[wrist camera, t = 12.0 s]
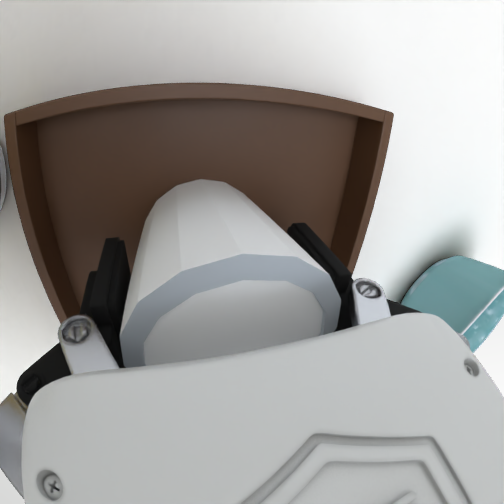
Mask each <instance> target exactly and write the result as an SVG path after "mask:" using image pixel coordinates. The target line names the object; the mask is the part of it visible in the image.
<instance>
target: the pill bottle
mask: <svg viewBox="0 0 504 504" xmlns="http://www.w3.org/2000/svg"><path fill="white" fill-rule="evenodd" d="M5 192H6V167H5V161H4V156H3V152H2V149H1V146H0V211H1V209H2V206H3V202H4V198H5Z"/></svg>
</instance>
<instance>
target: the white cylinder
mask: <svg viewBox="0 0 504 504" xmlns="http://www.w3.org/2000/svg"><path fill="white" fill-rule="evenodd" d="M340 306H341V298H340V296H339V294H338V292H337V290H336V288H335V286H334V283H333V281H332V279H331V277H330V275H329V274H328V273H327V272H326V271H325V270H324V269H323V268H322V267H321V266H320V265H319V264H318V263H317V262H316V261H315V260H314V259H313V258H312V257H311V256H310V255H309V254H308V253H307V252H306V251H305V250H303V249H302V248H301V247H300V246H299V245H298V244H297V243H296V242H295V241H294V240H293V239H292V238H291V237H290V236H289V235H288V234H287V233H286V232H285V231H284V230H283V229H281V228H280V227H279V226H278V225H277V224H276V223H275V222H274V221H273V220H272V219H271V218H270V217H269V216H268V215H266V214H265V213H264V212H263V211H262V210H261V209H260V208H259V207H258V206H257V205H256V204H255V203H253V202H252V201H251V200H250V199H249V198H248V197H247V196H246V195H245V194H244V193H242V192H240V191H239V190H237V189H235V188H234V187H232V186H230V185H229V184H227V183H225V182H221V181H213V180H205V179H199V180H195V181H191V182H187V183H184V184H180V185H176V186H175V187H174V188H172V189H171V190H170V191H168V192H167V193H166V194H164V195H163V196H162V197H160V198H159V199H158V200H157V201H156V203H155V204H154V206H153V208H152V210H151V211H150V213H149V215H148V217H147V219H146V221H145V224H144V228H143V231H142V235H141V239H140V242H139V246H138V250H137V254H136V258H135V262H134V266H133V270H132V275H131V279H130V284H129V288H128V293H127V298H126V303H125V308H124V314H123V319H122V325H121V331H120V343H121V350H122V357H123V363H124V366H125V367H126V368H130V367H141V366H150V365H159V364H169V363H177V362H185V361H193V360H200V359H207V358H213V357H219V356H225V355H231V354H237V353H243V352H248V351H253V350H259V349H264V348H268V347H273V346H278V345H283V344H287V343H292V342H296V341H300V340H304V339H309V338H313V337H317V336H321V335H325V334H329V333H332V332H334V331H335V329H336V328H337V324H338V318H339V312H340Z"/></svg>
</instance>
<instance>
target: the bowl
mask: <svg viewBox="0 0 504 504" xmlns="http://www.w3.org/2000/svg"><path fill="white" fill-rule="evenodd" d="M401 305H404V306H407V307H410V308H412V309H415V310H418V311H420V312H422V313H428V314H432V315H436V316H438V317H440V318H441V319H442V320H444V321H445V322H446V323H447V324H448V325H449V326H450V327H451V328H452V329H453V330H454V331H456V332H458V333H460V334H462V335H464V336H465V337H466V338H467V340H468V341H469V344H470V350H471V351H472V352H473V353H474V352H475V351H476V350H477V349H478V348H479V346H480V345H481V344H482V343H483V342H484V341H485V340H486V338H487V337H488V336H489V335H490V333H491V332H492V331H493V330H494V328H495V327H496V325H497V324H498V323H499V321H500V320H501V318H502V317H503V315H504V270H501V269H499V268H496V267H494V266H491V265H488V264H485V263H483V262H480V261H477V260H474V259H471V258H467V257H464V256H453V257H450V258H447V259H443V260H440V261H438V262H437V263H435V264H433V265H432V266H431V267H429V268H428V269H427V270H426V271H425V272H424V273H423V274H422V275H421V276H420V277H419V278H418V279H417V280H416V281H415V282H414V283H413V285H412V286H411V287H410V289H409V290H408V292H407V293H406V295H405V296H404V298H403V300H402V302H401Z"/></svg>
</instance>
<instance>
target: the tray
mask: <svg viewBox="0 0 504 504" xmlns="http://www.w3.org/2000/svg"><path fill="white" fill-rule="evenodd" d="M393 116H394V114H393V113H392V112H389V111H385V110H382V109H379V108H375V107H372V106H368V105H364V104H360V103H356V102H352V101H348V100H344V99H340V98H335V97H330V96H325V95H320V94H315V93H309V92H303V91H297V90H290V89H283V88H275V87H266V86H256V85H244V84H227V83H167V84H150V85H138V86H129V87H120V88H112V89H106V90H99V91H93V92H88V93H82V94H77V95H72V96H68V97H63V98H59V99H55V100H51V101H47V102H44V103H40V104H36V105H33V106H30V107H26V108H23V109H20V110H17V111H14V112H11V113H8V114H6V115H5V116H4V124H5V137H6V146H7V155H8V162H9V168H10V174H11V180H12V185H13V190H14V195H15V199H16V204H17V208H18V212H19V216H20V219H21V223H22V227H23V230H24V233H25V237H26V240H27V243H28V246H29V249H30V252H31V255H32V258H33V261H34V263H35V266H36V269H37V271H38V274H39V276H40V279H41V281H42V284H43V286H44V289H45V291H46V293H47V296H48V298H49V300H50V302H51V304H52V307H53V309H54V311H55V313H56V315H57V317H58V319H59V321H60V323H61V324H62V322H63V321H65V320H66V319H67V318H69V317H70V316H73V315H76V314H79V313H80V309H81V304H82V300H83V295H84V291H85V287H86V283H87V279H88V276H89V273H90V272H91V271H97V269H98V265H99V261H100V257H101V254H102V250H103V246H104V243H105V240H106V238H114V237H119V238H120V240H124V242H125V247H126V252H127V257H128V263H129V268H130V272H131V275H132V270H133V266H134V262H135V258H136V254H137V250H138V246H139V242H140V239H141V235H142V231H143V228H144V224H145V221H146V219H147V217H148V215H149V213H150V211H151V210H152V208H153V206H154V204H155V203H156V201H157V200H158V199H159V198H160V197H162V196H163V195H164V194H166V193H167V192H168V191H170V190H171V189H172V188H174V187H175V186H176V185H180V184H184V183H187V182H191V181H195V180H199V179H205V180H213V181H221V182H225V183H227V184H229V185H230V186H232V187H234V188H235V189H237V190H239V191H240V192H242V193H244V194H245V195H246V196H247V197H248V198H249V199H250V200H251V201H252V202H253V203H255V204H256V205H257V206H258V207H259V208H260V209H261V210H262V211H263V212H264V213H265V214H266V215H268V216H269V217H270V218H271V219H272V220H273V221H274V222H275V223H276V224H277V225H278V226H279V227H280V228H281V229H283V230H284V231H285V232H286V233H287V229H288V227H290V226H291V225H292V224H293V223H306V224H307V225H308V226H309V227H310V228H311V229H312V230H313V231H314V232H315V234H316V235H317V236H318V237H319V238H320V239H321V240H322V241H323V242H324V243H325V244H326V245H327V247H328V248H329V249H330V250H331V251H332V252H333V253H334V254H335V255H336V256H337V258H338V259H339V260H340V261H341V262H342V263H343V264H344V265H345V267H346V268H347V269H348V270H349V271H350V272H351V273H352V274H353V271H354V268H355V265H356V262H357V259H358V256H359V253H360V250H361V247H362V244H363V241H364V237H365V234H366V231H367V228H368V224H369V221H370V217H371V214H372V210H373V207H374V203H375V199H376V195H377V192H378V188H379V184H380V180H381V175H382V171H383V167H384V162H385V158H386V153H387V148H388V144H389V138H390V133H391V128H392V122H393Z"/></svg>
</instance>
